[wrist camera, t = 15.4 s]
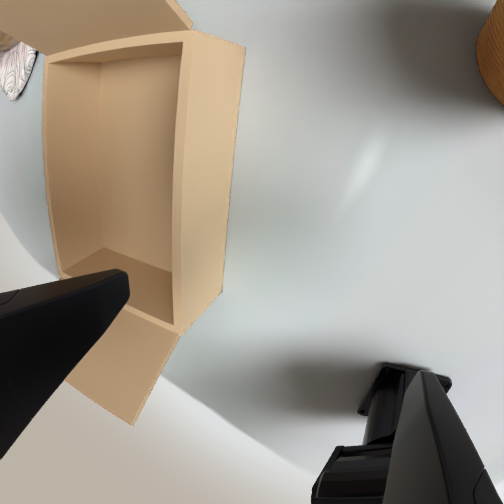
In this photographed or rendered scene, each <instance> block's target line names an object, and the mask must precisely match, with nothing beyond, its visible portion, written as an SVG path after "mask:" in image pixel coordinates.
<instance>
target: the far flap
mask: <svg viewBox="0 0 504 504" xmlns="http://www.w3.org/2000/svg"><path fill="white" fill-rule="evenodd" d="M59 280H64V278H63V277H61V278H60V279H59ZM179 338H180V336H179V335H178V334H177V333H175V332H172V331H170V330H168V329H166V328H163V327H161V326H159V325H157V324H154V323H152V322H150V321H148V320H146V319H143V318H141V317H139V316H137V315H135V314H133V313H131V312H129V311H127V310H124V309H122V310H121V311H120V312H119V314H118V315H117V317H116V318H115V319H114V321H113V322H112V323H111V325H110V326H109V328H108V329H107V330H106V332H105V333H104V334H103V335H102V337H101V338H100V339H99V340H98V341H97V342H96V343H95V345H94V346H93V347H92V348H91V349H90V350H89V352H88V353H87V354H86V355H85V356H84V357H83V358H82V360H81V361H80V362H79V363H78V364H77V365H76V367H75V368H74V369H73V370H72V371H71V372H70V374H69V375H68V376H67V377H66V378H65V381H66V382H68V383H69V384H70V385H72V386H73V387H74V388H76V389H77V390H79V391H80V392H81V393H83V394H84V395H86V396H87V397H88V398H90V399H91V400H93V401H94V402H95V403H98V405H100V406H102V407H103V408H104V409H106V410H108V411H109V412H111V413H112V414H114V415H115V416H117V417H119V418H120V419H122V420H123V421H125V422H127V423H128V424H130V425H133V426H134V423H135V422H136V420H137V418H138V416H139V414H140V412H141V410H142V408H143V406H144V404H145V402H146V400H147V398H148V396H149V395H150V393H151V391H152V389H153V387H154V385H155V383H156V381H157V379H158V377H159V376H160V374H161V372H162V370H163V368H164V366H165V364H166V362H167V360H168V358H169V357H170V355H171V353H172V351H173V349H174V347H175V345H176V343H177V342H178V340H179Z"/></svg>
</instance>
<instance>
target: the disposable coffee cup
mask: <svg viewBox="0 0 504 504" xmlns="http://www.w3.org/2000/svg"><path fill="white" fill-rule="evenodd" d="M476 57H477V63H478V67H479V70H480V73H481V75H482V77H483V80H484V82H485V84H486V85H487V87H488V88H489V90H490V92H491V93H492V94H493V95H494V96H495V98H496V99H497V100H498V101H499V102H500V103H501V104H502V105H503V106H504V0H497V1H496V4H495V6H494V7H493V9H492V11H491V13H490V15H489V17H488V19H487V21H486V22H485V24H484V26H483V28H482V29H481V31H480V33H479V35H478V39H477V44H476Z"/></svg>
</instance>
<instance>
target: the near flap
mask: <svg viewBox="0 0 504 504" xmlns="http://www.w3.org/2000/svg"><path fill="white" fill-rule="evenodd" d="M192 25H193V21H192V20H191V19H190V18H189V16H188V15H187V14H186V13H185V11H184V10H183V9H182V8H181V6H180V5H179V4H178V3H177V1H176V0H0V31H2V32H4V33H6V34H8V35H10V36H12V37H14V38H15V39H17V40H19V41H21V42H23V43H25V44H26V45H28V46H30V47H32V48H34V49H35V50H37V51H39V52H41V53H43V54H44V55H46V56H49V55H52V54H56V53H59V52H63V51H67V50H71V49H75V48H79V47H83V46H87V45H91V44H96V43H101V42H105V41H111V40H116V39H122V38H127V37H134V36H140V35H148V34H156V33H164V32H174V31H186V30H190V29H191V27H192Z"/></svg>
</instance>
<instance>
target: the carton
mask: <svg viewBox="0 0 504 504" xmlns="http://www.w3.org/2000/svg"><path fill="white" fill-rule="evenodd" d="M245 50H246V48H244V47H242V46H239V45H237V44H234V43H231V42H229V41H226V40H223V39H221V38H218V37H215V36H212V35H209V34H206V33H203V32H200V31H197V30H186V31H174V32H164V33H156V34H148V35H140V36H134V37H127V38H122V39H116V40H111V41H105V42H101V43H96V44H91V45H87V46H83V47H79V48H75V49H71V50H67V51H63V52H59V53H56V54H52V55H49V56H46V57H45V63H44V77H43V101H42V136H43V160H44V175H45V186H46V196H47V205H48V213H49V220H50V227H51V234H52V240H53V246H54V251H55V257H56V262H57V267H58V272H59V276H61V277H63V278H64V279H68V278H73V277H78V276H82V275H87V274H92V273H96V272H101V271H106V270H110V269H115V268H117V269H120V270H123V271H125V272H127V274H128V276H129V285H130V298H129V300H128V302H127V303H126V304H125V306H124V307H123V308H122V309H124V310H127V311H129V312H131V313H133V314H135V315H137V316H139V317H141V318H143V319H146V320H148V321H150V322H152V323H154V324H157V325H159V326H161V327H163V328H166V329H168V330H170V331H172V332H175V333H177V334H179V335H183V334H184V333H185V332H186V331H187V329H188V328H189V327H190V326H191V325H192V324H193V323H194V322H195V321H196V320H197V318H198V317H199V316H200V315H201V314H202V313H203V312H204V311H205V310H206V309H207V307H208V306H209V305H210V304H211V303H212V302H213V301H214V300H215V299H216V298H217V297H218V295H219V294H220V293H221V292H222V286H223V272H224V260H225V247H226V235H227V224H228V212H229V201H230V190H231V180H232V169H233V159H234V149H235V139H236V130H237V120H238V111H239V102H240V93H241V84H242V76H243V67H244V59H245Z"/></svg>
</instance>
